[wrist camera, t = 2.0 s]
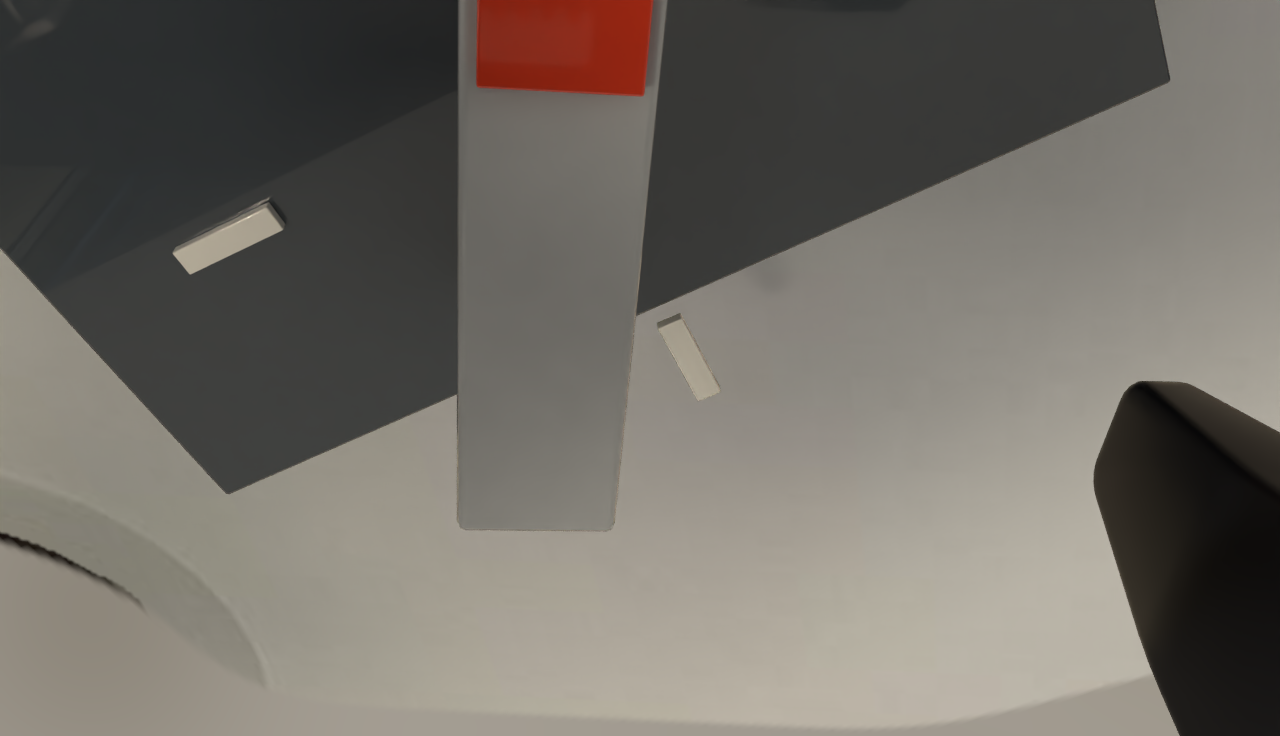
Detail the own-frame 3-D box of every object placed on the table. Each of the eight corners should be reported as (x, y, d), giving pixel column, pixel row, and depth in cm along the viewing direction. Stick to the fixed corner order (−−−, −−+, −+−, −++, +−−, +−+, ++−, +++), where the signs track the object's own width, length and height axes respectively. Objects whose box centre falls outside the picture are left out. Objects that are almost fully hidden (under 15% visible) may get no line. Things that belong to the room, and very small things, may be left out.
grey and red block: (592, 304, 16) (616, 551, 12) (471, 300, 16) (455, 550, 12) (630, -183, 12) (680, -59, 8) (476, -196, 12) (455, -76, 8)
